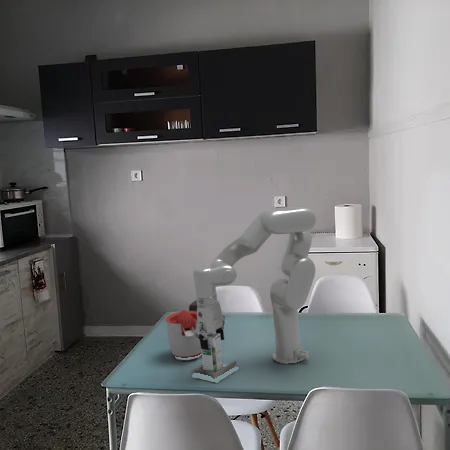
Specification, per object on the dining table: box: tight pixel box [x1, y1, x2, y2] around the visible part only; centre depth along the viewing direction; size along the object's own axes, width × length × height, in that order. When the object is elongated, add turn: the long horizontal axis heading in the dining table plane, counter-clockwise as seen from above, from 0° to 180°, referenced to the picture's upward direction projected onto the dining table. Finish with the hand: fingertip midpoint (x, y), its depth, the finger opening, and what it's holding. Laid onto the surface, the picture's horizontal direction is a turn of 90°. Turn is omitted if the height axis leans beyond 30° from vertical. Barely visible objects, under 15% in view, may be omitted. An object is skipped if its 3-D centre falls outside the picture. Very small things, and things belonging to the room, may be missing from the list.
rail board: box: [192, 360, 238, 379], centre depth 193 cm, size 12×14×3 cm
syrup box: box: [201, 332, 224, 372], centre depth 191 cm, size 6×6×14 cm
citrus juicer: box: [165, 309, 204, 358], centre depth 210 cm, size 16×17×20 cm
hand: (212, 344), depth 191 cm, fingers open, 9 cm apart
